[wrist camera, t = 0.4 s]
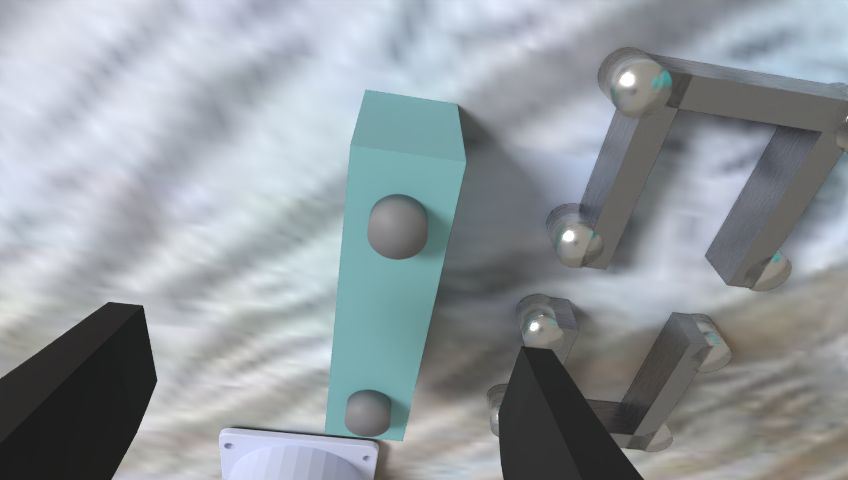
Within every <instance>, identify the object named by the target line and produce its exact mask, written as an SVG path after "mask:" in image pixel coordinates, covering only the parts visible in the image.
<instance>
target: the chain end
mask: <svg viewBox="0 0 848 480" xmlns="http://www.w3.org/2000/svg"><path fill="white" fill-rule="evenodd" d="M517 315H518V319H519V324H520V328H521V333H522V337H523V342H524V345H525V347H534V348H544V349H552V350H553V352H554V353H555V355H556V356H557V357H558V359H559V360H560V362H561V363H562V365H564V363H565V361H566V359H567V356H568V354H569V352H570V350H571V347H572V345H573V343H574V341H575V339H576V336H577V334H578V332H579V328H578V326H577V323H576V320H575V317H574V314H573V311H572V309H571V306H570V303H569V300H566V299H558V298H549V297H548V296H545V295H540V294H537V295H531V296H528V297H526V298H524V299H523V300H522V301H521V302H520V303H519V305H518V307H517ZM731 356H732V353H731V350H730V349H729V347H728V346H727V344H726V343H725V341H724V340H723V338H722V337H721V335H720V334H719V332H718V331H717V329H716V328H715V326H714V325H713V323H712V322H711V320H710V319H709V318H708V317H707V316H706V315H703V314H692V315H689V314H681V313H672V315H671V316H670V318H669V320H668V322H667V323H666V325H665V327H664V329H663V330H662V332H661V334H660V336H659V337H658V339H657V341H656V343H655V344H654V346H653V348H652V350H651V351H650V353H649V355H648V357H647V358H646V360H645V362H644V364H643V365H642V367H641V369H640V371H639V372H638V374H637V376H636V378H635V379H634V381H633V383H632V385H631V386H630V388H629V390H628V392H627V393H626V395H625V397H624V399H623V400H622V402H621V403H613V402H604V401H594V400H586V401H587V402H588V404H589V405H590V407H591V408H592V410H593V411H594V413H595V414H596V415H597V417H598V418H599V420H600V421H601V423H602V424H603V425H604V427H605V428H606V430H607V431H608V432H609V434H610V435H611V436H612V438H613V439H614V441H615V442H616V443H617V445H618V446H619V447H620V448H627V449H637V450H643V451H646V452H656V451H660V450H663V449H665V448H667V447H668V446H669V445H671V443H672V441H673V437H672V434H671V432H670V430H669V428H668V426H667V423H666V421H665V420H666V418H667V417H668V415H669V414H670V412H671V411H672V409H673V408H674V406H675V405H676V403H677V402H678V400H679V399H680V397H681V396H682V394H683V393H684V391H685V390H686V388H687V387H688V385H689V384H690V382H691V380H692V379H693V377H694V376H695V374H696V373H697V371H699V372H711V371H715V370H718V369H720V368H722V367H723V366H725V365H726V364H727V363H728V362H729V361H730V359H731ZM507 386H508V384H502V385H497V386H495V387H493V388H491V389H490V390H489V392H488V394H487V400H488V408H489V416H490V423H491V430H492V432H493V434H494V435H496V436H498V437H499V425H498V411H499V409H500V406H501V403H502V400H503V397H504V395H505V392H506V389H507Z"/></svg>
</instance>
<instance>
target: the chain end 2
mask: <svg viewBox="0 0 848 480" xmlns="http://www.w3.org/2000/svg"><path fill="white" fill-rule="evenodd" d="M598 84H599V87H600V89H601V90H602V92H603V93H604V94H605V95H606V96H607V97H608V99H609V100H610V101H611V102H612V103H613V104H614V106H615V107H616V108H617V109H616V112H615V114H614V117H613V119H612V122H611V125H610V127H609V130H608V133H607V135H606V138H605V141H604V143H603V146H602V148H601V151H600V154H599V156H598V159H597V162H596V164H595V167H594V170H593V172H592V175H591V178H590V180H589V183H588V185H587V188H586V191H585V193H584V196H583V199H582V201H581V204H580V205H579V204H574V203H569V204H564V205H561V206H559V207H558V208H556V209H555V210H553V211H552V213H551V214H550V215H549V217H548V220H547V229H548V231H549V234H550V237H551V240H552V242H553V245H554V248H555V251H556V253H557V256H558V259H559V260H560V262H561V263H563V264H564V265H566V266H568V267H571V268H582V267H589V268H597V269H605V270H606V269H607V267H608V265H609V263H610V260H611V258H612V256H613V254H614V251H615V249H616V247H617V245H618V243H619V240H620V238H621V236H622V234H623V231H624V229H625V227H626V225H627V222H628V220H629V218H630V216H631V214H632V211H633V209H634V207H635V205H636V202H637V200H638V198H639V196H640V193H641V191H642V189H643V187H644V185H645V182H646V180H647V178H648V176H649V173H650V171H651V169H652V167H653V164H654V162H655V160H656V158H657V155H658V153H659V151H660V149H661V147H662V144H663V142H664V140H665V138H666V135H667V133H668V131H669V129H670V126H671V124H672V122H673V120H674V118H675V115H676V113H677V111H678V109H683V110H689V111H695V112H702V113H708V114H714V115H720V116H727V117H733V118H739V119H745V120H752V121H758V122H764V123H771V124H777V125H779V127H778V129H777V131H776V132H775V134H774V136H773V138H772V139H771V141H770V143H769V145H768V146H767V148H766V150H765V152H764V153H763V155H762V157H761V159H760V160H759V162H758V164H757V166H756V167H755V169H754V171H753V173H752V174H751V176H750V178H749V180H748V181H747V183H746V185H745V187H744V188H743V190H742V192H741V194H740V195H739V197H738V199H737V201H736V202H735V204H734V206H733V208H732V209H731V211H730V213H729V215H728V216H727V218H726V220H725V222H724V223H723V225H722V227H721V229H720V230H719V232H718V234H717V236H716V237H715V239H714V241H713V243H712V244H711V246H710V248H709V250H708V251H707V253H706V255H705V257H706V258H707V260H708V261H709V262H710V263H711V265H712V266H713V267H714V269H715V270H716V271H717V273H718V274H719V275H720V277H721V278H722V279H723V281H724V282H725V283H726V285H729V286H737V287H745V288H749V289H750V290H753V291H767V290H770V289H773V288H775V287H777V286H779V285H780V284H782V283H783V282H784V281H785V280H786V279H787V278H788V276H789V275H790V273H791V263H790V262H789V260H788V259H787V258H786V257H785V256H784V255H783V254H782V253H781V252H780V251H779V250H778V249H779V248H780V246H781V245H782V243H783V242H784V240H785V239H786V237H787V236H788V234H789V233H790V231H791V230H792V228H793V227H794V225H795V224H796V222H797V221H798V219H799V218H800V216H801V215H802V213H803V212H804V210H805V209H806V207H807V206H808V204H809V202H810V201H811V199H812V198H813V196H814V195H815V193H816V192H817V190H818V189H819V187H820V186H821V184H822V183H823V181H824V180H825V178H826V177H827V175H828V174H829V172H830V171H831V169H832V168H833V166H834V165H835V163H836V162H837V160H838V159H839V157H840V156H841V154H842V153H843V151H845V152H848V85H846V84H843V83H832V84H824V83H818V82H812V81H806V80H800V79H794V78H788V77H782V76H777V75H771V74H765V73H759V72H753V71H747V70H741V69H735V68H729V67H723V66H717V65H712V64H706V63H700V62H694V61H688V60H682V59H676V58H670V57H664V56H658V55H652V54H647V53H643V52H642V51H640V50H639V49H636V48H631V47H627V48H622V49H619V50H616V51H615V52H613V53H611V54H610V55H609V56H608V57H607V58H606V59H605V60H604V61H603V63H602V65H601V66H600V69H599V72H598Z"/></svg>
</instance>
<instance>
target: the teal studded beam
mask: <svg viewBox="0 0 848 480" xmlns="http://www.w3.org/2000/svg"><path fill="white" fill-rule="evenodd" d="M465 166H466V157H465V150H464V144H463V138H462V131H461V125H460V119H459V112H458V106H457V104H454V103H448V102H441V101H435V100H428V99H422V98H416V97H409V96H403V95H397V94H390V93H384V92H377V91H371V90H365V94H364V97H363V101H362V105H361V108H360V112H359V116H358V119H357V123H356V127H355V130H354V134H353V138H352V141H351V145H350V155H349V167H348V178H347V189H346V200H345V211H344V223H343V234H342V245H341V256H340V268H339V279H338V290H337V301H336V313H335V324H334V335H333V346H332V358H331V369H330V380H329V391H328V403H327V414H326V425H325V434H332V435H342V436H352V437H363V438H373V439H384V440H394V441H403V438H404V434H405V429H406V425H407V421H408V416H409V412H410V407H411V403H412V399H413V394H414V390H415V385H416V381H417V377H418V372H419V368H420V364H421V359H422V355H423V350H424V346H425V342H426V337H427V333H428V329H429V324H430V320H431V315H432V311H433V307H434V302H435V298H436V293H437V289H438V285H439V280H440V276H441V272H442V267H443V263H444V258H445V254H446V250H447V245H448V241H449V237H450V232H451V228H452V223H453V219H454V215H455V210H456V206H457V201H458V197H459V193H460V188H461V184H462V180H463V175H464V171H465Z"/></svg>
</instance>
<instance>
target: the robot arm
mask: <svg viewBox="0 0 848 480" xmlns="http://www.w3.org/2000/svg"><path fill="white" fill-rule="evenodd" d="M156 383H157V376H156V371H155V366H154V360H153V355H152V350H151V345H150V339H149V334H148V329H147V324H146V318H145V313H144V308H143V306H142V305H133V304H124V303H114V302H108V303H107V304H105V305H104V306H102V307H101V308H99V309H98V310H97V311H95V312H94V313H92V314H91V315H89V316H88V317H87V318H85V319H84V320H83V321H81V322H80V323H78V324H77V325H76V326H74V327H73V328H71V329H70V330H69V331H67V332H66V333H64V334H63V335H62V336H60V337H59V338H57V339H56V340H55V341H53V342H52V343H50V344H49V345H48V346H46V347H45V348H44V349H42V350H41V351H39V352H38V353H37V354H35V355H34V356H32V357H31V358H29V359H28V360H27V361H25V362H24V363H22V364H21V365H19V366H18V367H17V368H15V369H14V370H12V371H11V372H9V373H8V374H6V375H5V376H4V377H2V378H1V379H0V480H111V479H112V477H113V476H114V474H115V472H116V470H117V468H118V466H119V465H120V463H121V461H122V459H123V457H124V455H125V454H126V452H127V450H128V448H129V446H130V444H131V442H132V441H133V439H134V437H135V435H136V433H137V431H138V428H139V426H140V424H141V421H142V419H143V416H144V414H145V411H146V409H147V406H148V404H149V401H150V399H151V396H152V393H153V391H154V388H155V386H156ZM498 425H499V443H500V457H501V466H502V472H503V478H504V480H644V479H643V478H642V477H641V475H640V474H639V473H638V472H637V470H636V469H635V468H634V466H633V465H632V464H631V462H630V461H629V460H628V458H627V457H626V456H625V454H624V453H623V452H622V450H621V449H620V447H619V446H618V445H617V443H616V442H615V441H614V439H613V438H612V436H611V435H610V434H609V432H608V431H607V430H606V428H605V427H604V425H603V424H602V423H601V421H600V420H599V418H598V417H597V415H596V414H595V413H594V411H593V410H592V408H591V407H590V405H589V404H588V402H587V401H586V399H585V398H584V396H583V395H582V393H581V392H580V390H579V389H578V387H577V386H576V384H575V383H574V381H573V380H572V378H571V377H570V375H569V374H568V372H567V371H566V369H565V368H564V366H563V365H562V363H561V362H560V360H559V359H558V357H557V356H556V355H555V353H554V352H553V350H552V349H544V348H534V347H525V346H522V347H521V350H520V353H519V355H518V358H517V361H516V364H515V367H514V369H513V372H512V375H511V378H510V381H509V383H508V386H507V389H506V392H505V395H504V397H503V400H502V403H501V406H500V409H499V411H498ZM219 445H220V455H221V465H222V475H223V480H374V475H375V469H376V464H377V458H378V453H379V445H378V444H377V443H376V442H374V441H368V440H357V439H346V438H335V437H325V436H314V435H303V434H292V433H281V432H271V431H260V430H249V429H238V428H225V429H223V430H222V431H221V433H220V436H219Z"/></svg>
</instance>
